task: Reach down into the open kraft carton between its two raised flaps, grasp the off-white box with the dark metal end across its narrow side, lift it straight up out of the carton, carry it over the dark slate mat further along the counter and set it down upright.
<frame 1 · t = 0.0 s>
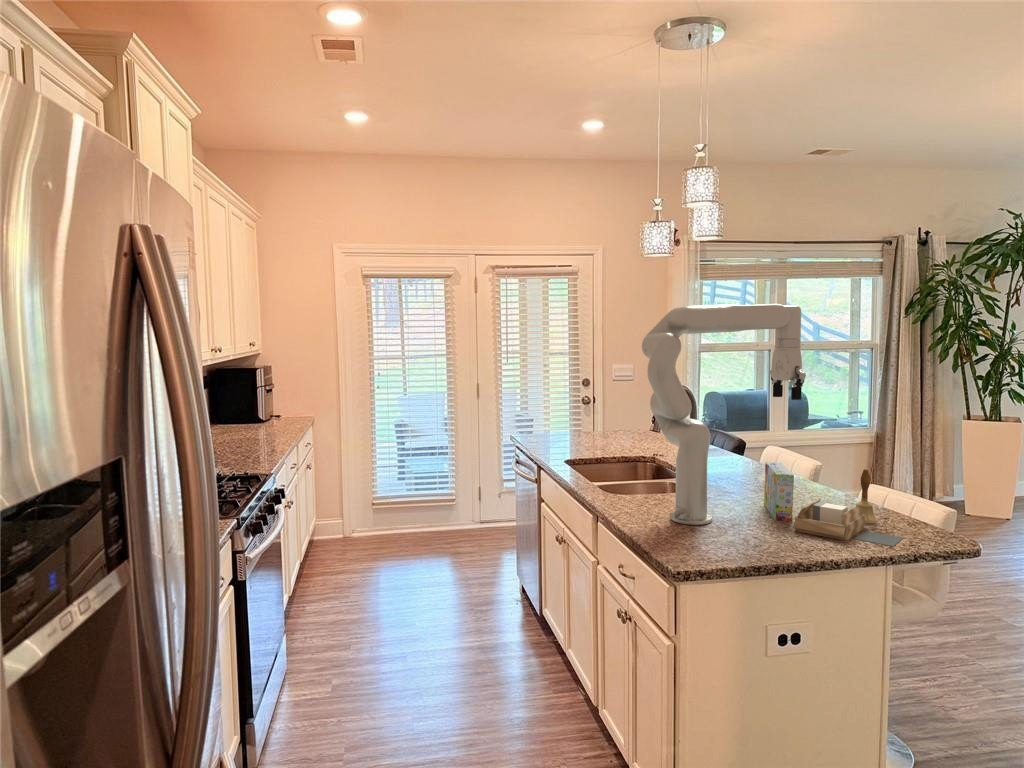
hand: (786, 398, 211), 37 cm above the worktop, tool pointing down, fingers open, 9 cm apart
white box: (829, 529, 194), resting on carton
snack box: (777, 514, 214), on the worktop
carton: (829, 531, 194), on the worktop
hand bell: (863, 521, 204), on the worktop
slate mat: (878, 540, 185), on the worktop
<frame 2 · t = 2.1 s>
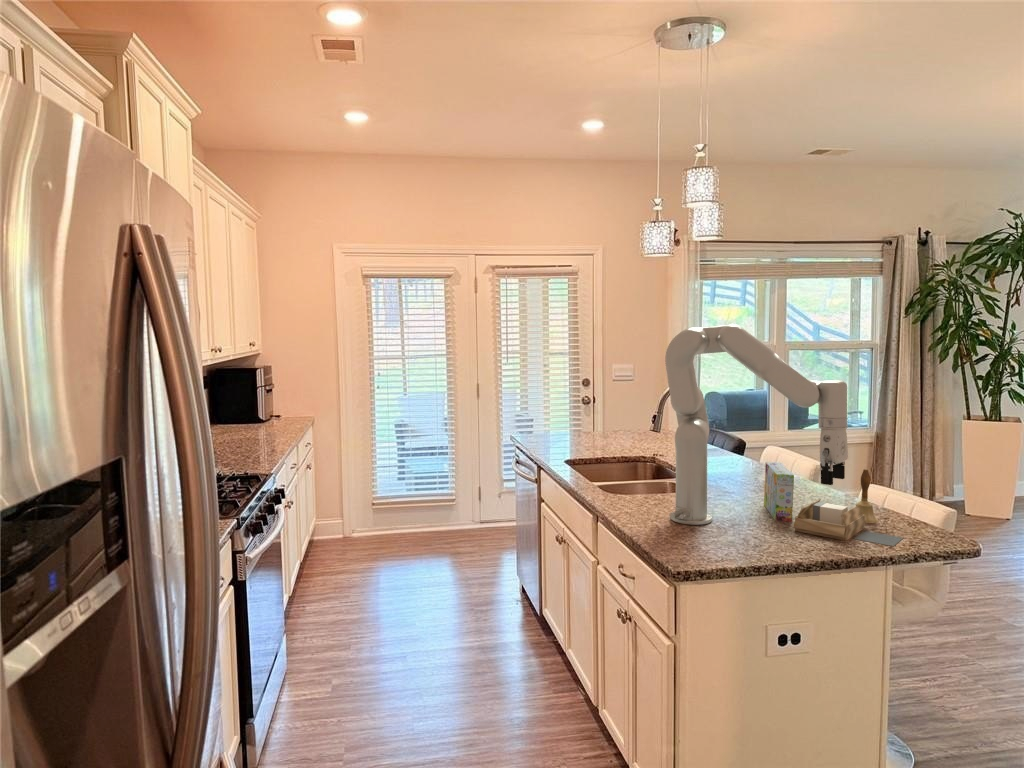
hand: (832, 481, 193), 15 cm above the worktop, tool pointing down, fingers open, 9 cm apart
nothing on the worktop moved.
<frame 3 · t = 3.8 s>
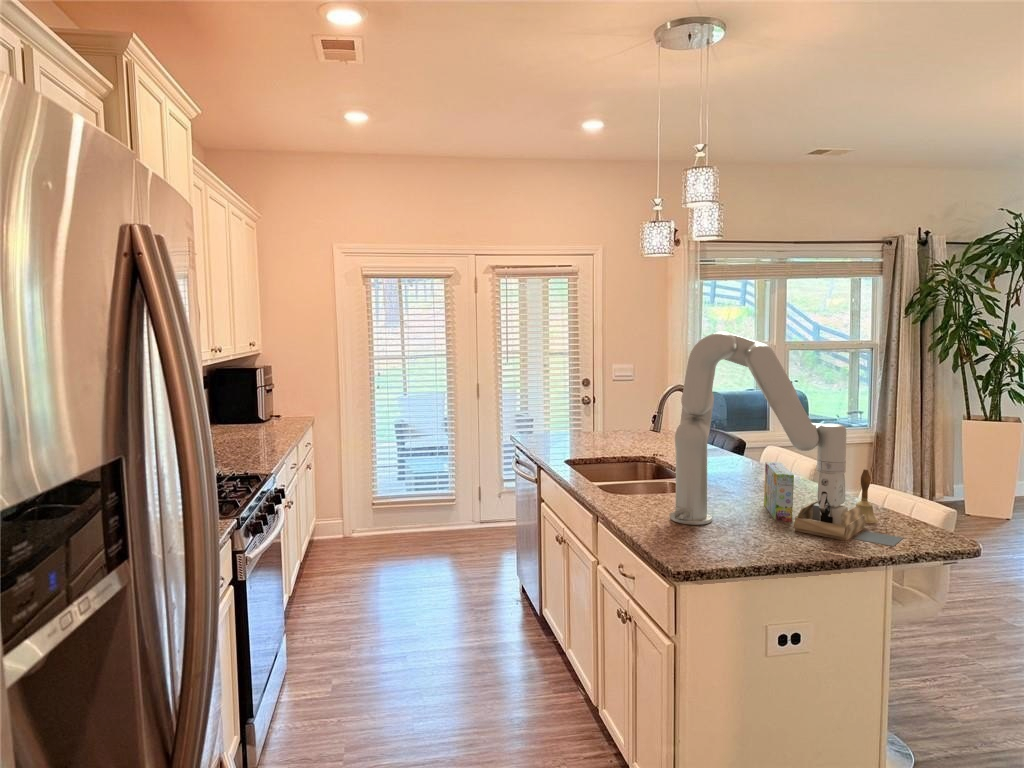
hand: (829, 526, 194), 1 cm above the worktop, tool pointing down, fingers closed on white box, 5 cm apart
white box: (829, 529, 194), resting on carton, touching gripper
everything else where it was.
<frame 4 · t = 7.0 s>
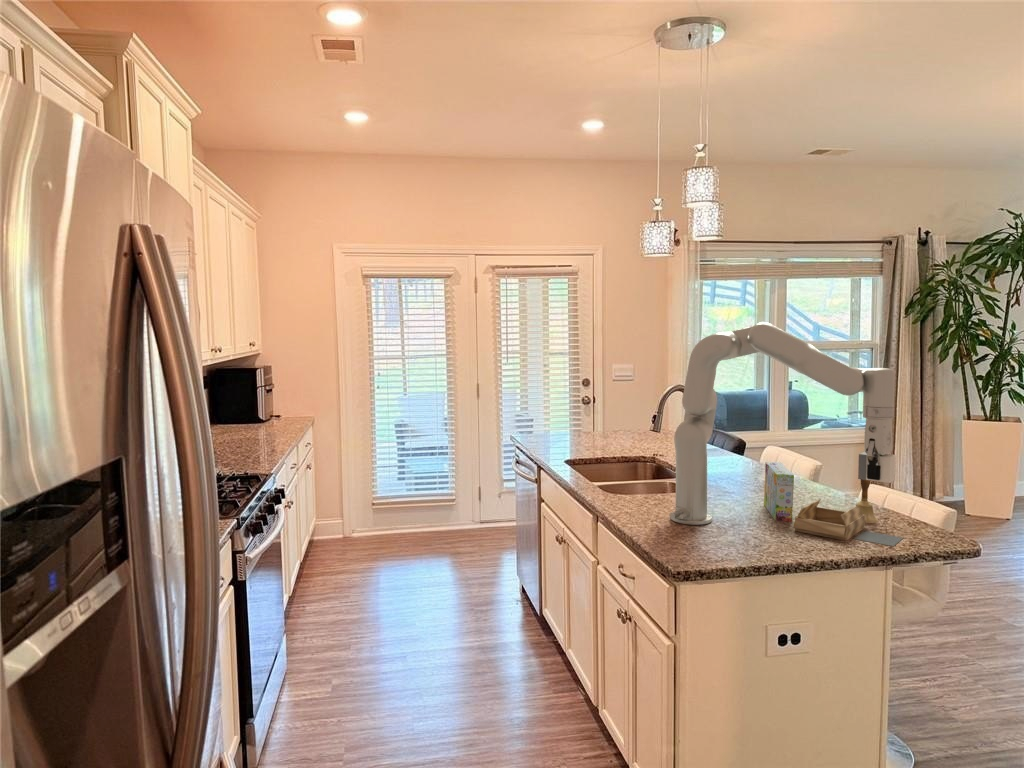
hand: (876, 476, 184), 18 cm above the worktop, tool pointing down, fingers closed on white box, 5 cm apart
white box: (876, 479, 184), point 17 cm above the worktop, touching gripper
everything else where it was.
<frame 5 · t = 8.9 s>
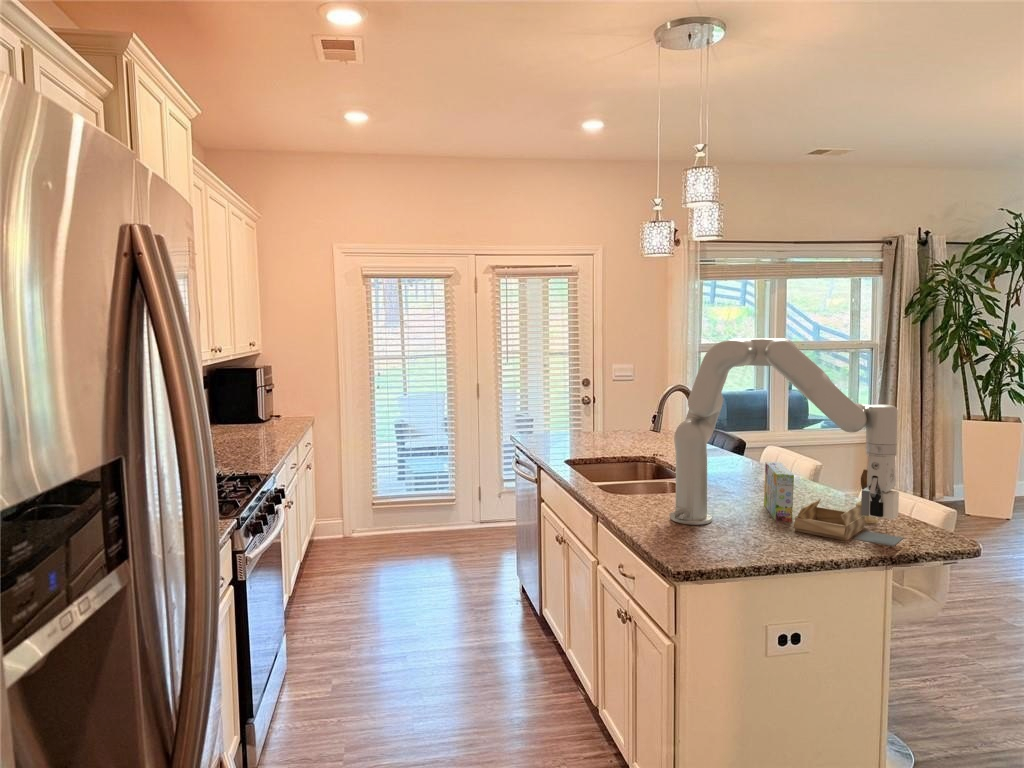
hand: (879, 513, 184), 8 cm above the worktop, tool pointing down, fingers closed on white box, 5 cm apart
white box: (879, 515, 184), point 7 cm above the worktop, touching gripper
everything else where it was.
when the fingers open (2 cm above the worktop, at t = 10.3 s): white box drops 1 cm, resting on slate mat.
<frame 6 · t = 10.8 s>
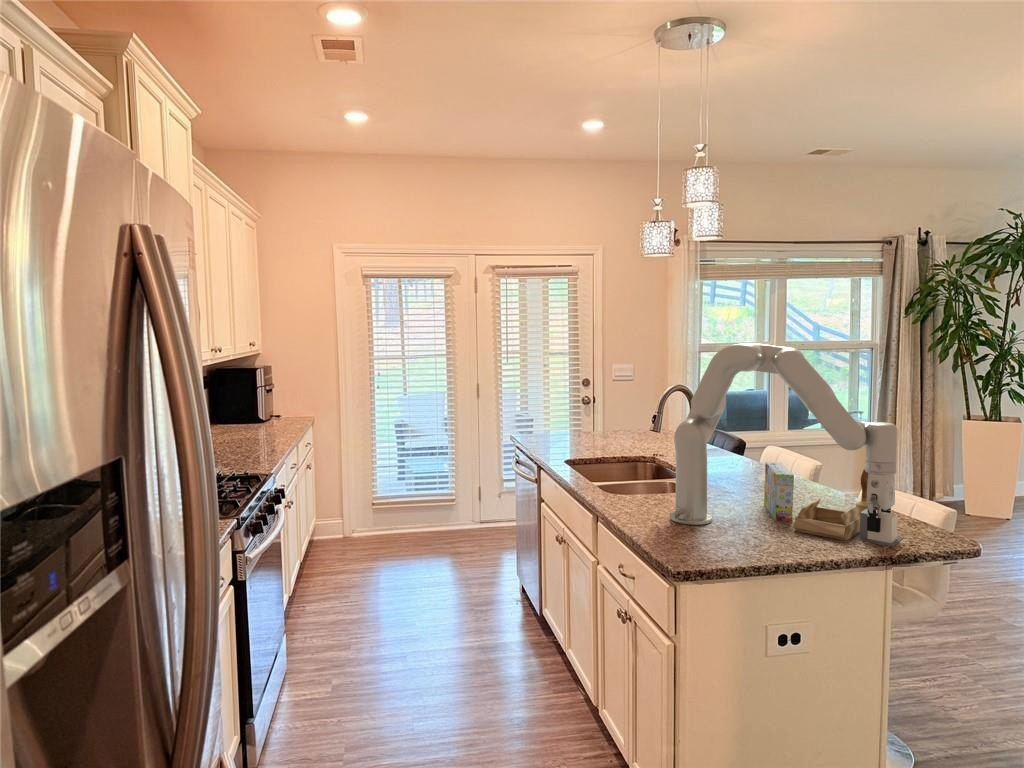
hand: (878, 527, 185), 4 cm above the worktop, tool pointing down, fingers open, 9 cm apart
white box: (878, 538, 185), point 1 cm above the worktop, touching slate mat
everything else where it was.
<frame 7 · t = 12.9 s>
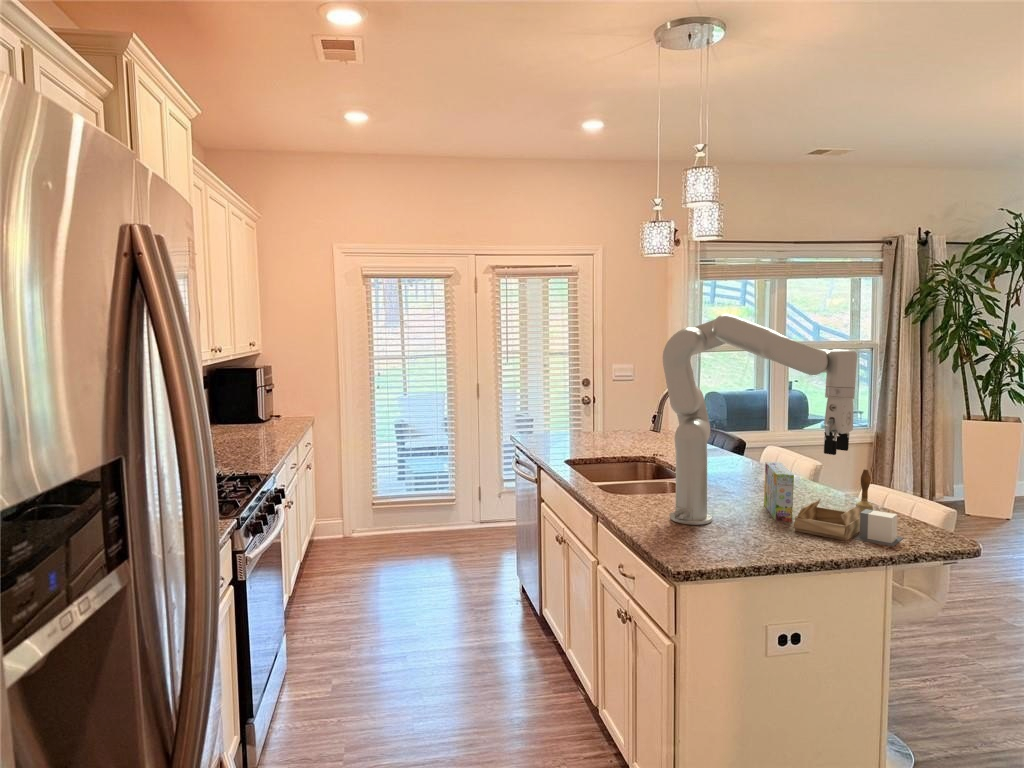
hand: (836, 452, 190), 24 cm above the worktop, tool pointing down, fingers open, 9 cm apart
nothing on the worktop moved.
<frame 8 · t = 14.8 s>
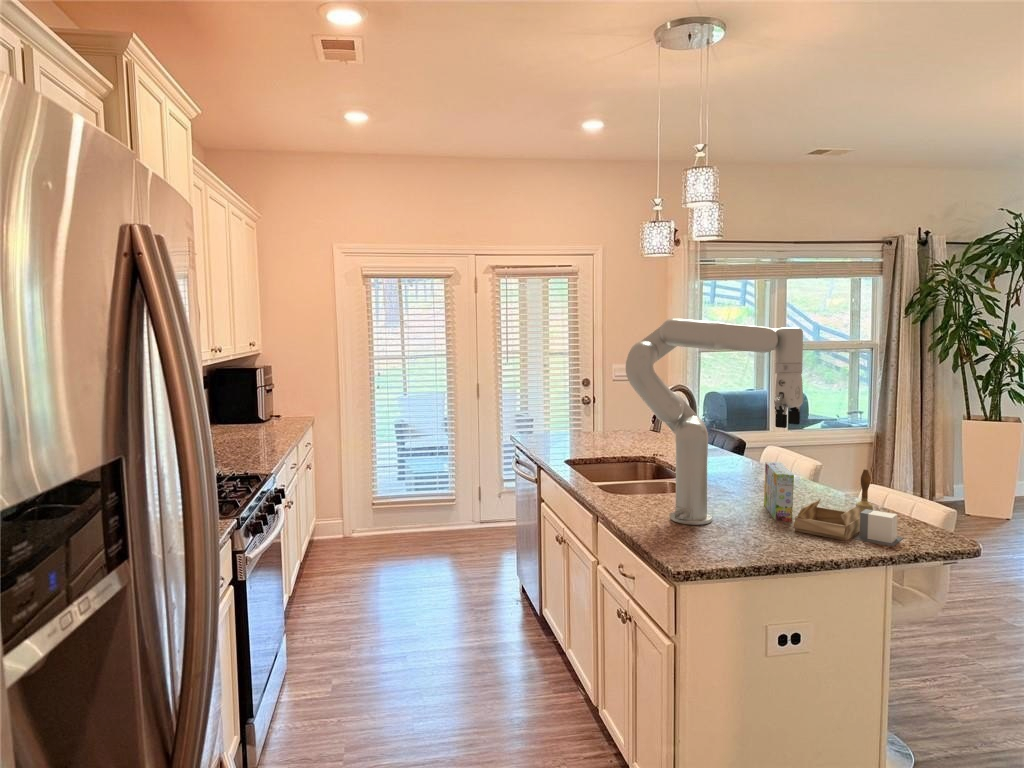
hand: (787, 425, 199), 30 cm above the worktop, tool pointing down, fingers open, 9 cm apart
nothing on the worktop moved.
at the end: white box inside the target area on the slate mat (0.1 cm from its centre), point 0.6 cm above the slate mat's base; white box tilted 0°; white box touching slate mat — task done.
